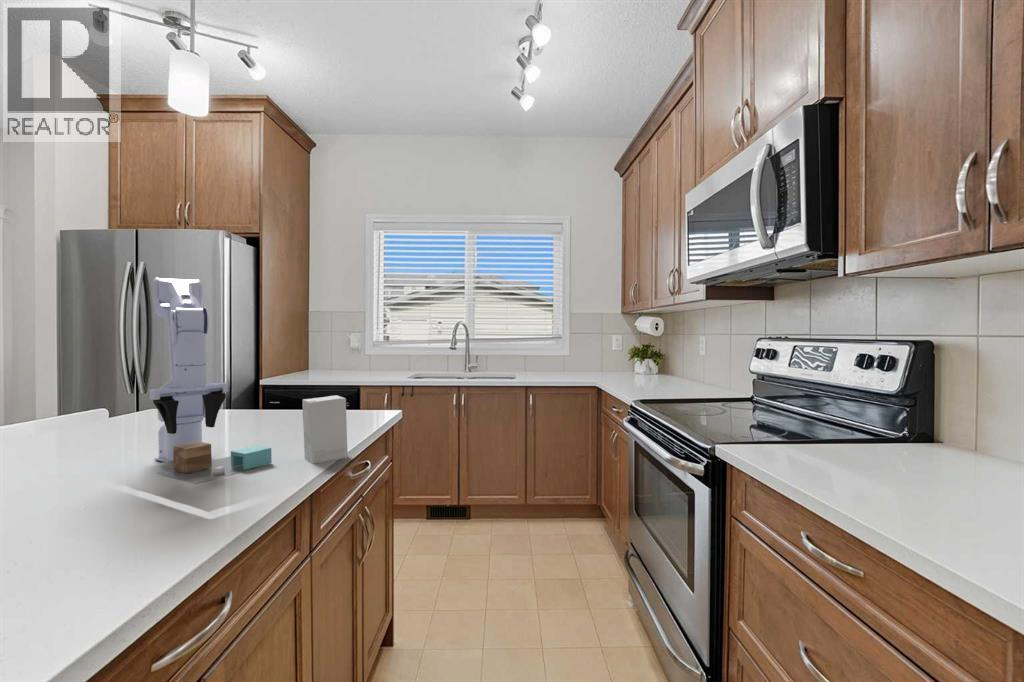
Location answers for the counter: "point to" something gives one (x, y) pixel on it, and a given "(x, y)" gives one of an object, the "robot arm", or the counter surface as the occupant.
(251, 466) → the housing cover
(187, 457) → the jaw block
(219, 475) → the slate board
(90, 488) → the counter surface
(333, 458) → the skincare box
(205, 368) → the robot arm
